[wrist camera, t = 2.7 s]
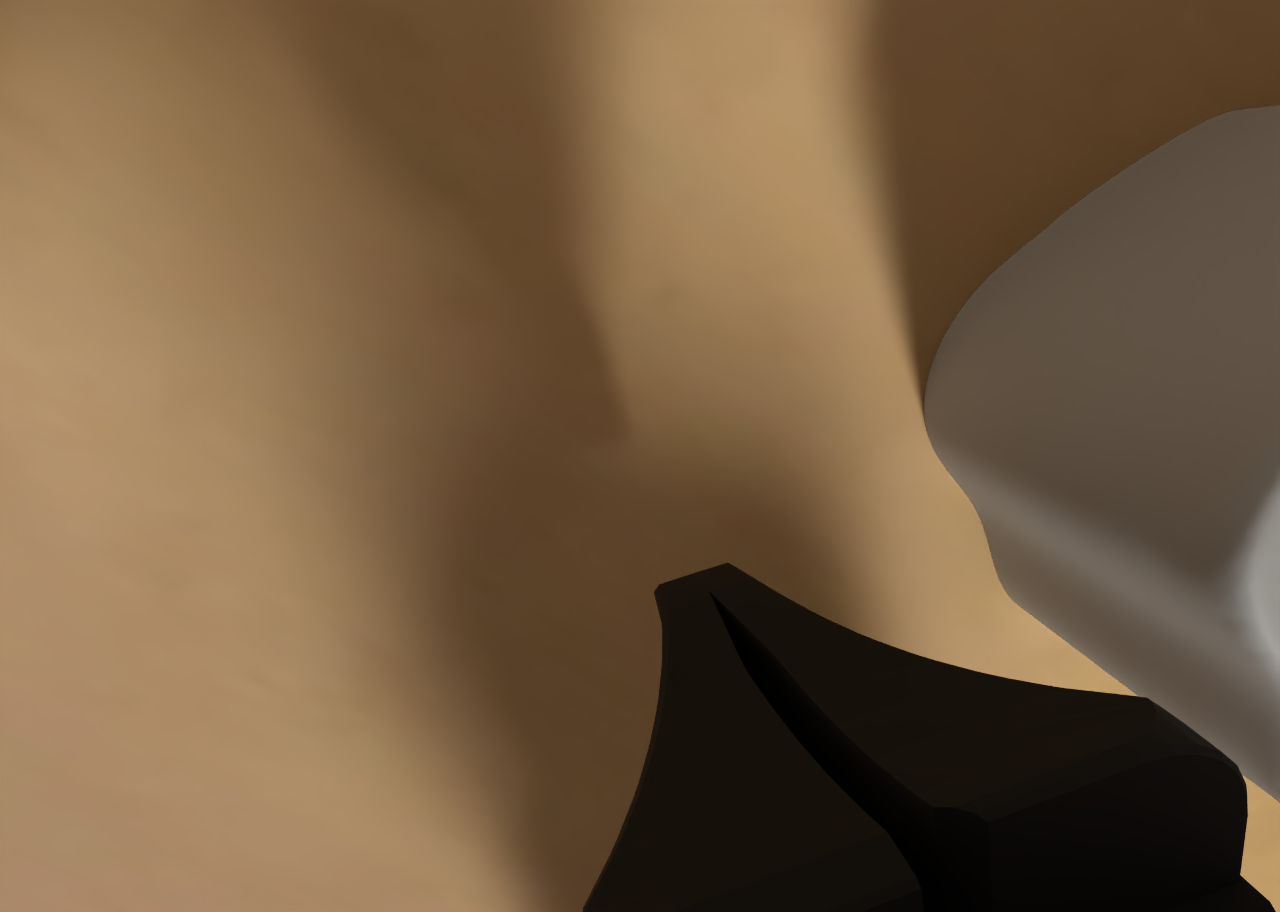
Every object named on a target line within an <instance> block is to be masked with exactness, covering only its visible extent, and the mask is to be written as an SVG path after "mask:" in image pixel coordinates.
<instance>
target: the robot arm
mask: <svg viewBox="0 0 1280 912" xmlns="http://www.w3.org/2000/svg"><path fill="white" fill-rule="evenodd" d="M654 595H655V599H656V602H657V606H658V610H659V614H660V618H661V622H662V670H661V679H660V689H659V698H658V705H657V711H656V717H655V722H654V727H653V731H652V736H651V741H650V745H649V749H648V752H647V756H646V759H645V763H644V767H643V770H642V774H641V777H640V780H639V783H638V787H637V790H636V792H635V795H634V798H633V801H632V803H631V806H630V808H629V811H628V813H627V816H626V818H625V821H624V823H623V826H622V829H621V831H620V834H619V836H618V839H617V841H616V843H615V846H614V848H613V850H612V852H611V854H610V856H609V858H608V860H607V862H606V864H605V866H604V868H603V870H602V872H601V874H600V876H599V878H598V880H597V882H596V884H595V886H594V888H593V890H592V892H591V894H590V896H589V898H588V900H587V902H586V903H585V905H584V907H583V912H1276V911H1275V910H1274V908H1273V906H1272V905H1271V903H1270V901H1269V900H1267V899H1266V898H1265V897H1264V896H1263V895H1262V894H1261V893H1260V892H1258V891H1257V890H1256V889H1255V888H1254V887H1253V886H1252V885H1251V884H1249V883H1248V882H1247V881H1246V880H1245V879H1244V878H1243V877H1242V876H1240V872H1241V864H1242V856H1243V848H1244V840H1245V832H1246V825H1247V817H1248V809H1247V788H1246V783H1245V781H1244V779H1243V776H1242V774H1241V772H1240V770H1239V767H1238V765H1237V764H1235V763H1234V762H1233V761H1232V760H1231V759H1230V758H1228V757H1227V756H1226V755H1225V754H1224V753H1223V752H1221V751H1220V750H1219V749H1218V748H1216V747H1215V746H1214V745H1212V744H1211V743H1210V742H1208V741H1207V740H1206V739H1204V738H1203V737H1202V736H1201V735H1199V734H1198V733H1197V732H1195V731H1194V730H1193V729H1191V728H1190V727H1189V726H1187V725H1186V724H1185V723H1183V722H1182V721H1181V720H1179V719H1178V718H1176V717H1175V716H1174V715H1172V714H1171V713H1169V712H1168V711H1166V710H1165V709H1164V708H1162V707H1161V706H1159V705H1158V704H1156V703H1154V702H1153V701H1151V700H1150V699H1149V698H1147V697H1138V696H1129V695H1120V694H1111V693H1102V692H1093V691H1084V690H1075V689H1067V688H1060V687H1053V686H1048V685H1042V684H1036V683H1031V682H1025V681H1020V680H1014V679H1009V678H1004V677H999V676H995V675H990V674H985V673H981V672H977V671H973V670H969V669H965V668H961V667H958V666H954V665H950V664H946V663H943V662H939V661H935V660H932V659H929V658H925V657H922V656H919V655H916V654H913V653H910V652H907V651H904V650H901V649H898V648H896V647H893V646H890V645H887V644H884V643H882V642H879V641H876V640H874V639H871V638H869V637H866V636H864V635H861V634H859V633H856V632H854V631H852V630H850V629H848V628H845V627H843V626H841V625H839V624H837V623H834V622H832V621H830V620H828V619H826V618H824V617H822V616H820V615H818V614H816V613H814V612H812V611H810V610H808V609H807V608H805V607H803V606H801V605H799V604H797V603H795V602H794V601H792V600H790V599H788V598H786V597H785V596H783V595H781V594H779V593H778V592H776V591H774V590H773V589H771V588H769V587H768V586H766V585H764V584H763V583H761V582H759V581H758V580H756V579H754V578H753V577H751V576H750V575H748V574H746V573H745V572H743V571H741V570H740V569H738V568H736V567H735V566H733V565H731V564H729V563H725V564H722V565H719V566H716V567H713V568H709V569H706V570H703V571H700V572H697V573H694V574H691V575H687V576H684V577H681V578H678V579H675V580H672V581H669V582H665V583H662V584H659V585H658V587H657V588H656V590H655V592H654Z"/></svg>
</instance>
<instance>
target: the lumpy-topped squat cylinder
mask: <svg viewBox="0 0 1280 912" xmlns="http://www.w3.org/2000/svg"><path fill="white" fill-rule="evenodd" d="M924 420H925V426H926V430H927V434H928V437H929V440H930V442H931V445H932V447H933V449H934V451H935V453H936V455H937V456H938V458H939V459H940V461H941V462H942V464H943V465H944V467H945V468H946V470H947V471H948V472H949V473H950V475H951V476H952V477H953V479H954V480H955V481H956V482H957V484H958V485H959V486H960V487H961V489H962V490H963V491H964V493H965V494H966V495H967V497H968V498H969V500H970V501H971V503H972V504H973V506H974V508H975V509H976V511H977V513H978V515H979V517H980V520H981V522H982V525H983V527H984V530H985V533H986V537H987V540H988V544H989V548H990V551H991V555H992V559H993V563H994V566H995V569H996V572H997V575H998V578H999V580H1000V582H1001V584H1002V586H1003V588H1004V590H1005V591H1006V593H1007V594H1008V596H1009V597H1010V598H1011V599H1012V600H1013V601H1014V602H1015V603H1016V604H1017V605H1018V606H1020V607H1021V608H1022V609H1024V610H1025V611H1026V612H1028V613H1029V614H1030V615H1032V616H1033V617H1034V618H1036V619H1037V620H1038V621H1040V622H1041V623H1042V624H1044V625H1045V626H1046V627H1048V628H1049V629H1050V630H1052V631H1053V632H1054V633H1056V634H1057V635H1058V636H1059V637H1061V638H1062V639H1063V640H1065V641H1066V642H1067V643H1069V644H1070V645H1071V646H1073V647H1074V648H1075V649H1077V650H1078V651H1079V652H1081V653H1082V654H1083V655H1085V656H1086V657H1087V658H1089V659H1090V660H1091V661H1093V662H1094V663H1095V664H1097V665H1098V666H1099V667H1101V668H1102V669H1103V670H1104V671H1106V672H1107V673H1108V674H1110V675H1111V676H1112V677H1114V678H1115V679H1116V680H1118V681H1119V682H1120V683H1122V684H1123V685H1124V686H1126V687H1127V688H1128V689H1130V690H1131V691H1132V692H1134V693H1135V694H1136V695H1138V696H1139V697H1147V698H1149V699H1150V700H1151V701H1153V702H1154V703H1156V704H1158V705H1159V706H1161V707H1162V708H1164V709H1165V710H1166V711H1168V712H1169V713H1171V714H1172V715H1174V716H1175V717H1176V718H1178V719H1179V720H1181V721H1182V722H1183V723H1185V724H1186V725H1187V726H1189V727H1190V728H1191V729H1193V730H1194V731H1195V732H1197V733H1198V734H1199V735H1201V736H1202V737H1203V738H1204V739H1206V740H1207V741H1208V742H1210V743H1211V744H1212V745H1214V746H1215V747H1216V748H1218V749H1219V750H1220V751H1221V752H1223V753H1224V754H1225V755H1226V756H1227V757H1228V758H1230V759H1231V760H1232V761H1233V762H1234V763H1235V764H1237V765H1238V767H1239V770H1240V772H1241V774H1242V775H1243V776H1245V777H1246V778H1248V779H1249V780H1250V781H1252V782H1253V783H1255V784H1256V785H1257V786H1259V787H1260V788H1261V789H1263V790H1264V791H1265V792H1267V793H1268V794H1269V795H1271V796H1272V797H1273V798H1274V799H1276V800H1277V801H1278V802H1279V803H1280V105H1274V106H1265V107H1256V108H1247V109H1240V110H1234V111H1229V112H1226V113H1223V114H1220V115H1217V116H1215V117H1213V118H1210V119H1208V120H1206V121H1204V122H1202V123H1200V124H1198V125H1196V126H1194V127H1193V128H1191V129H1189V130H1187V131H1185V132H1184V133H1182V134H1180V135H1178V136H1177V137H1175V138H1173V139H1171V140H1170V141H1168V142H1166V143H1165V144H1163V145H1162V146H1160V147H1158V148H1157V149H1155V150H1153V151H1152V152H1150V153H1149V154H1147V155H1146V156H1144V157H1142V158H1141V159H1139V160H1138V161H1136V162H1135V163H1133V164H1132V165H1130V166H1129V167H1127V168H1125V169H1124V170H1122V171H1121V172H1119V173H1118V174H1117V175H1115V176H1114V177H1112V178H1111V179H1109V180H1108V181H1106V182H1105V183H1103V184H1102V185H1101V186H1099V187H1098V188H1096V189H1095V190H1093V191H1092V192H1091V193H1089V194H1088V195H1087V196H1085V197H1084V198H1082V199H1081V200H1080V201H1078V202H1077V203H1076V204H1074V205H1073V206H1072V207H1070V208H1069V209H1068V210H1067V211H1065V212H1064V213H1063V214H1062V215H1060V216H1059V217H1058V218H1057V219H1056V220H1055V221H1053V222H1052V223H1051V224H1050V225H1049V226H1048V227H1047V228H1045V229H1044V230H1043V231H1042V232H1041V233H1040V234H1038V235H1037V236H1036V237H1035V238H1033V239H1032V240H1031V241H1030V242H1028V243H1027V244H1026V245H1025V246H1023V247H1022V248H1021V249H1020V250H1018V251H1017V252H1016V253H1015V254H1013V255H1012V256H1011V257H1010V258H1009V259H1008V260H1006V261H1005V262H1004V263H1003V264H1002V265H1001V266H1000V267H998V268H997V269H996V270H995V271H994V272H993V273H992V274H991V275H990V276H989V277H988V278H987V279H986V280H985V281H984V282H983V283H982V284H981V285H980V286H979V287H978V289H977V290H976V291H975V292H974V293H973V294H972V295H971V297H970V298H969V299H968V300H967V302H966V303H965V304H964V306H963V307H962V308H961V310H960V311H959V312H958V314H957V315H956V317H955V318H954V320H953V322H952V323H951V325H950V327H949V328H948V330H947V332H946V334H945V336H944V338H943V340H942V342H941V344H940V346H939V348H938V350H937V353H936V355H935V358H934V361H933V363H932V366H931V369H930V373H929V376H928V380H927V385H926V390H925V397H924Z"/></svg>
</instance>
